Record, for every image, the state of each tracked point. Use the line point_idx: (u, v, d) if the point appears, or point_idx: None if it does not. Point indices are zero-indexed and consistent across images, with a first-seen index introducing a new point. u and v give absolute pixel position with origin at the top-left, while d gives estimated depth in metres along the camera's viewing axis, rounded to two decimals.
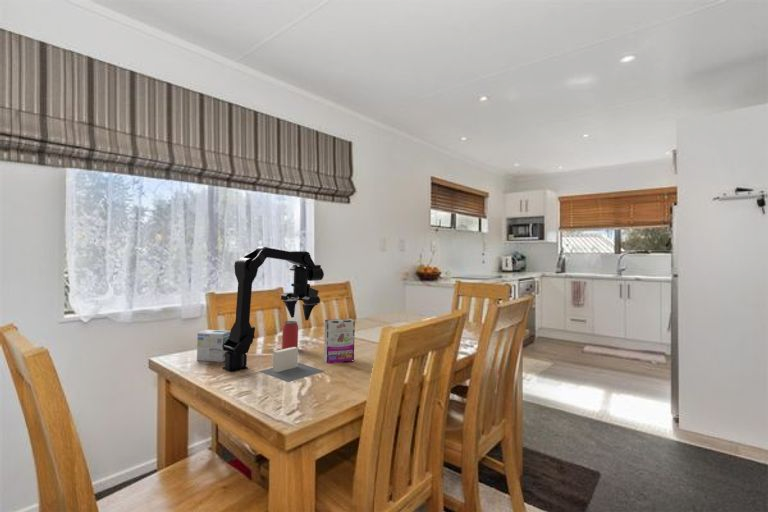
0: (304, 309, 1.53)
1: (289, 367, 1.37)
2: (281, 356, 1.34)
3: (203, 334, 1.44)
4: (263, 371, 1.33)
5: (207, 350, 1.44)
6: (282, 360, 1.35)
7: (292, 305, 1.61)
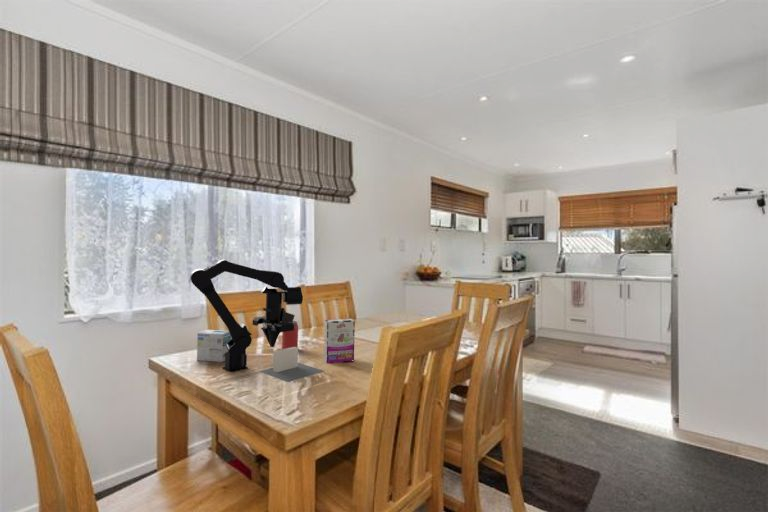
0: (269, 335, 1.40)
1: (289, 367, 1.37)
2: (281, 356, 1.34)
3: (203, 334, 1.44)
4: (263, 371, 1.33)
5: (207, 350, 1.44)
6: (282, 360, 1.35)
7: None
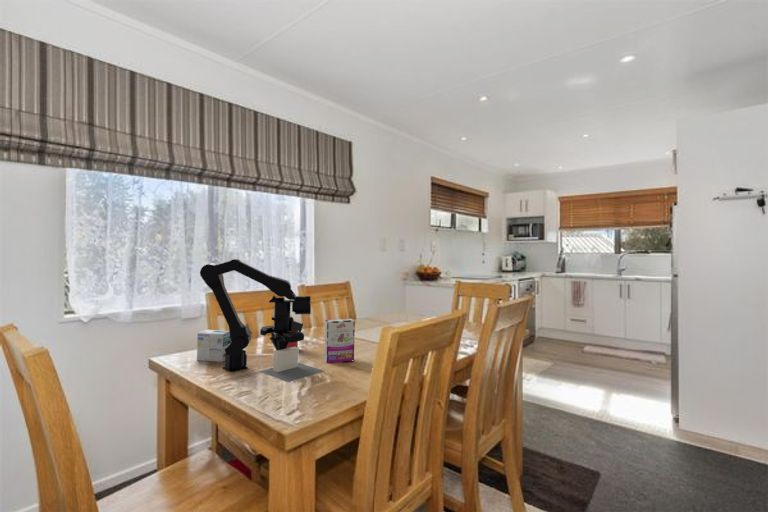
0: (278, 345, 1.37)
1: (289, 367, 1.37)
2: (281, 356, 1.34)
3: (203, 334, 1.44)
4: (263, 371, 1.33)
5: (207, 350, 1.44)
6: (282, 360, 1.35)
7: None
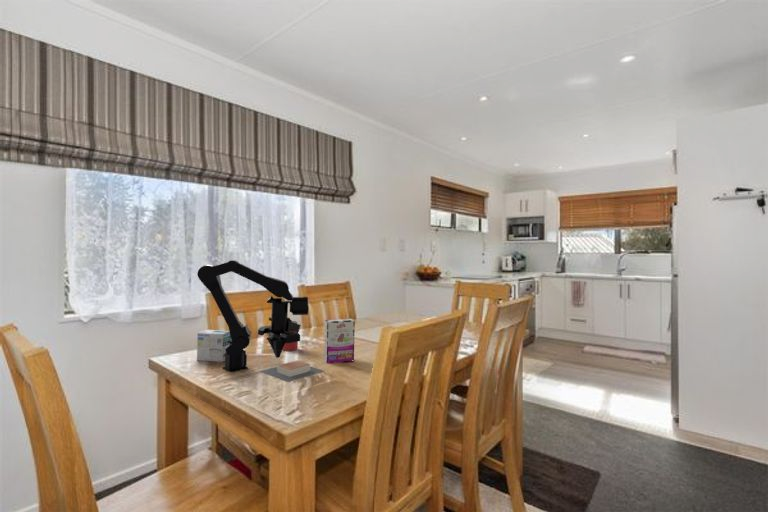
0: (274, 345, 1.37)
1: None
2: None
3: (203, 334, 1.44)
4: (263, 371, 1.33)
5: (207, 350, 1.44)
6: None
7: None
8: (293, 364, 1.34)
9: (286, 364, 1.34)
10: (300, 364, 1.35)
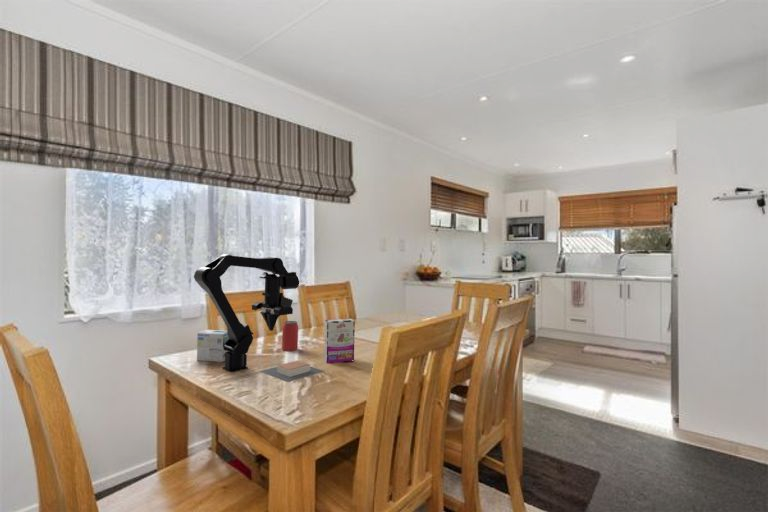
0: (268, 319, 1.44)
1: None
2: None
3: (203, 334, 1.44)
4: (263, 371, 1.33)
5: (207, 350, 1.44)
6: None
7: None
8: (293, 364, 1.34)
9: (286, 364, 1.34)
10: (300, 364, 1.35)
